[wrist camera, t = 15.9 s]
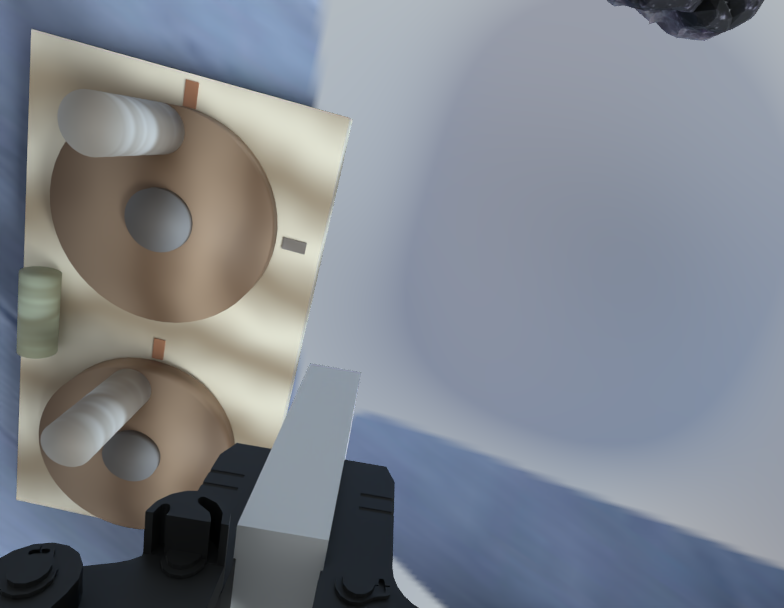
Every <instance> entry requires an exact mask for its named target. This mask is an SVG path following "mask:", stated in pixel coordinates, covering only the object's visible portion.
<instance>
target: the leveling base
mask: <svg viewBox="0 0 784 608" xmlns="http://www.w3.org/2000/svg"><path fill="white" fill-rule="evenodd" d="M78 89H90V90H96V91H101V92H107V93H112V94H118V95H124V96H129V97H135V98H140V99H146V100H152V101H157V102H163V103H169V104H174V105H179V106H184V107H188V108H191V109H194V110H197V111H199V112H202V113H204V114H206V115H208V116H210V117H212V118H214V119H216V120H217V121H219V122H220V123H222V124H223V125H225V126H226V127H228V128H229V129H230V130H231V131H233V132H234V133H235V134H236V135H237V136H238V137H240V138H241V139H242V141H243V142H244V143H245V144H246V145H247V146H248V147H249V148H250V149H251V151H252V152H253V154H254V155H255V156H256V158H257V159H258V160H259V162H260V164H261V166H262V167H263V169H264V171H265V173H266V175H267V177H268V180H269V182H270V185H271V187H272V190H273V194H274V198H275V202H276V209H277V222H278V230H277V238H276V244H275V248H274V252H273V255H272V258H271V260H270V262H269V265H268V267H267V269H266V270H265V272H264V274H263V275H262V277H261V278H260V279H259V281H258V282H257V283H256V284H255V286H254V287H253V288H252V289H251V290H250V291H249V292H248V293H247V294H246V295H244V296H243V297H242V298H241V299H240V300H239V301H238V302H237V303H235V304H234V305H233V306H231V307H230V308H228V309H227V310H225V311H223V312H221V313H219V314H217V315H215V316H212V317H209V318H206V319H203V320H198V321H193V322H183V323H170V322H160V321H154V320H149V319H146V318H143V317H139V316H136V315H134V314H132V313H129V312H127V311H125V310H122V309H121V308H119V307H117V306H116V305H114V304H112V303H110V302H109V301H108V300H106V299H105V298H103V297H102V296H101V295H99V294H98V293H97V292H96V291H95V290H94V289H93V288H92V287H90V286H89V285H88V284H87V283H86V282H85V280H84V279H83V278H82V277H81V276H80V275H79V274H78V272H77V271H76V270H75V268H74V267H73V265H72V264H71V263H70V261H69V260H68V258H67V256H66V254H65V252H64V250H63V249H62V247H61V244H60V242H59V239H58V237H57V234H56V231H55V228H54V224H53V220H52V214H51V208H50V185H51V176H52V172H53V169H54V165H55V162H56V159H57V157H58V155H59V152H60V150H61V148H62V147H63V145H64V143H65V142H66V140H65V139H64V137H63V136H62V134H61V132H60V129H59V125H58V118H57V115H58V109H59V105H60V103H61V101H62V100H63V98H64V97H65V96H66V95H67V94H69V93H70V92H72V91H75V90H78ZM351 125H352V119H351V118H348V117H344V116H341V115H337V114H334V113H330V112H327V111H323V110H320V109H316V108H312V107H309V106H305V105H302V104H298V103H295V102H291V101H287V100H284V99H280V98H277V97H273V96H270V95H266V94H262V93H259V92H255V91H252V90H248V89H244V88H241V87H237V86H234V85H230V84H227V83H223V82H219V81H216V80H212V79H209V78H205V77H202V76H198V75H194V74H191V73H187V72H184V71H180V70H177V69H173V68H169V67H166V66H162V65H159V64H155V63H152V62H148V61H144V60H141V59H137V58H134V57H130V56H127V55H123V54H119V53H116V52H112V51H109V50H105V49H102V48H98V47H94V46H91V45H87V44H84V43H80V42H77V41H73V40H69V39H66V38H62V37H59V36H55V35H52V34H48V33H44V32H41V31H37V30H34V29H31V54H30V85H29V117H28V148H27V180H26V211H25V243H24V268H22V269H20V270H19V282H18V317H17V354H18V355H20V356H21V369H20V401H19V432H18V464H17V495H16V500H20V501H24V502H29V503H33V504H38V505H42V506H47V507H52V508H56V509H61V510H65V511H70V512H74V513H79V514H83V515H88V516H93V517H96V516H94V515H92V514H90V513H89V512H87V511H86V510H84V509H82V508H81V507H80V506H78V505H77V504H76V503H74V502H73V501H72V500H71V499H70V498H69V497H68V496H67V495H66V494H65V493H64V492H63V491H62V490H61V489H60V488H59V487H58V485H57V484H56V483H55V481H54V480H53V478H52V477H51V475H50V474H49V472H48V470H47V468H46V466H45V463H44V461H43V458H42V455H41V451H40V445H39V425H40V420H41V416H42V413H43V411H44V409H45V406H46V404H47V403H48V401H49V400H50V398H51V397H52V396H53V394H54V393H55V392H56V391H57V390H58V389H59V388H60V387H61V386H63V385H64V384H66V383H67V382H68V381H70V380H71V379H72V378H74V377H75V376H77V375H78V374H79V373H81V372H82V371H84V370H85V369H87V368H89V367H91V366H93V365H95V364H97V363H100V362H103V361H106V360H112V359H117V358H144V359H150V360H155V361H158V362H162V363H165V364H168V365H170V366H173V367H175V368H178V369H180V370H181V371H183V372H185V373H187V374H189V375H190V376H192V377H193V378H195V379H196V380H197V381H199V382H200V383H201V384H202V385H203V386H205V387H206V388H207V389H208V390H209V391H210V392H211V393H212V394H213V396H214V397H215V398H216V399H217V400H218V402H219V403H220V405H221V406H222V407H223V409H224V411H225V413H226V415H227V417H228V419H229V421H230V424H231V427H232V430H233V435H234V440H235V444H236V443H241V444H247V445H253V446H259V447H264V448H270V449H272V447H273V445H274V442H275V440H276V438H277V436H278V433H279V431H280V429H281V427H282V425H283V422H284V420H285V418H286V415H287V410H288V406H289V401H290V397H291V392H292V388H293V383H294V379H295V374H296V370H297V366H298V361H299V357H300V352H301V348H302V343H303V339H304V334H305V330H306V325H307V321H308V317H309V312H310V308H311V303H312V299H313V294H314V290H315V285H316V281H317V276H318V272H319V267H320V263H321V259H322V254H323V249H324V245H325V240H326V236H327V232H328V227H329V223H330V218H331V214H332V209H333V205H334V200H335V196H336V192H337V187H338V183H339V178H340V173H341V169H342V165H343V161H344V156H345V152H346V147H347V143H348V138H349V134H350V129H351ZM97 518H98V517H97Z"/></svg>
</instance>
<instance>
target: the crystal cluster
mask: <svg viewBox="0 0 784 608" xmlns="http://www.w3.org/2000/svg"><path fill="white" fill-rule="evenodd" d="M607 1H608V2H609V3H611V4H612V5H614V6H621V5H625V6H629V7H632V8H635V9H636V10H637V11H638V12H639V13H640V14H642V15H643V16H644V17H645V18H646V19H647V20H648V21H649V24H651V23H654V22H656V23H657V24H658V25H659V26H660V27H661V28H662V29H663V30H664V31H665V32H666V33H668V34H670V35H672V36H675V37H677V38H685V39H692V40H703V41H705V40H707V39H710V38H712V37H713V36H716V35H718V34H720V33H723V32H726V31H728V30H731V29H733V28H735V27H737V26H739V25H740V24H742V23H744V22H746V21H747V20H749V19H751V18H752V17H753V16H754V15H755V14H756V12H757V11H758V9H759V7H760V6H761V4H762V3H763V1H764V0H607Z"/></svg>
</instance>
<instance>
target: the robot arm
mask: <svg viewBox="0 0 784 608" xmlns="http://www.w3.org/2000/svg"><path fill="white" fill-rule="evenodd" d="M360 375H361V372H357V371H351V370H345V369H339V368H334V367H329V366H323V365H317V364H311V363H310V365H309V367H308V369H307V372H306V374H305V376H304V378H303V380H302V383H301V385H300V387H299V389H298V391H297V394H296V396H295V398H294V400H293V402H292V405H291V407H290V409H289V411H288V414H287V416H286V418H285V420H284V422H283V425H282V427H281V429H280V431H279V433H278V436H277V438H276V440H275V442H274V445H273V447H272V449H270V448H264V447H259V446H253V445H247V444H241V443H236V444H234V445H233V446H231V447H230V448H228V449H227V450H226V451H224V452H223V453H221V454H220V455H219V457H218V458H217V460H216V462H215V463H214V465H213V467H212V468H211V471H210V472H209V473H208V475H207V476H206V478H205V479H204V481H203V484H202V485H201V486H200V488H199V489H198V491H183V492H178V493H173V494H170V495H168V496H166V497H164V498H162V499H160V500H158V501H156V502H155V503H154V504H153V505H152V506H150V507H149V508H148V509H147V510H146V511H145V529H144V549H143V555H142V556H140V557H137V558H135V559H132V560H128V561H123V562H117V563H109V564H100V565H90V566H83V564H82V561H81V557H80V554H79V553H78V552H77V551H75V550H74V549H73V548H71V547H70V546H67V545H62V544H57V543H43V544H33V545H30V546H27V547H24V548H21V549H18V550H14V551H12V552H10V553H9V554H7V555H5V556H3V557H1V558H0V608H418V607H417V606H415V605H413V604H412V603H411V602H410V601H409V600H408V599H407V598H406V597H404V595H403V594H402V592H401V591H400V590H399V588H398V587H397V584H396V582H395V579H394V577H393V570H392V561H393V522H394V516H393V514H394V480H393V479H392V477H391V475H390V473H389V471H388V469H387V468H386V467H384V466H378V465H372V464H366V463H361V462H355V461H349V460H345V458H346V453H347V447H348V442H349V436H350V431H351V425H352V420H353V414H354V409H355V403H356V397H357V392H358V387H359V381H360Z"/></svg>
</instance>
